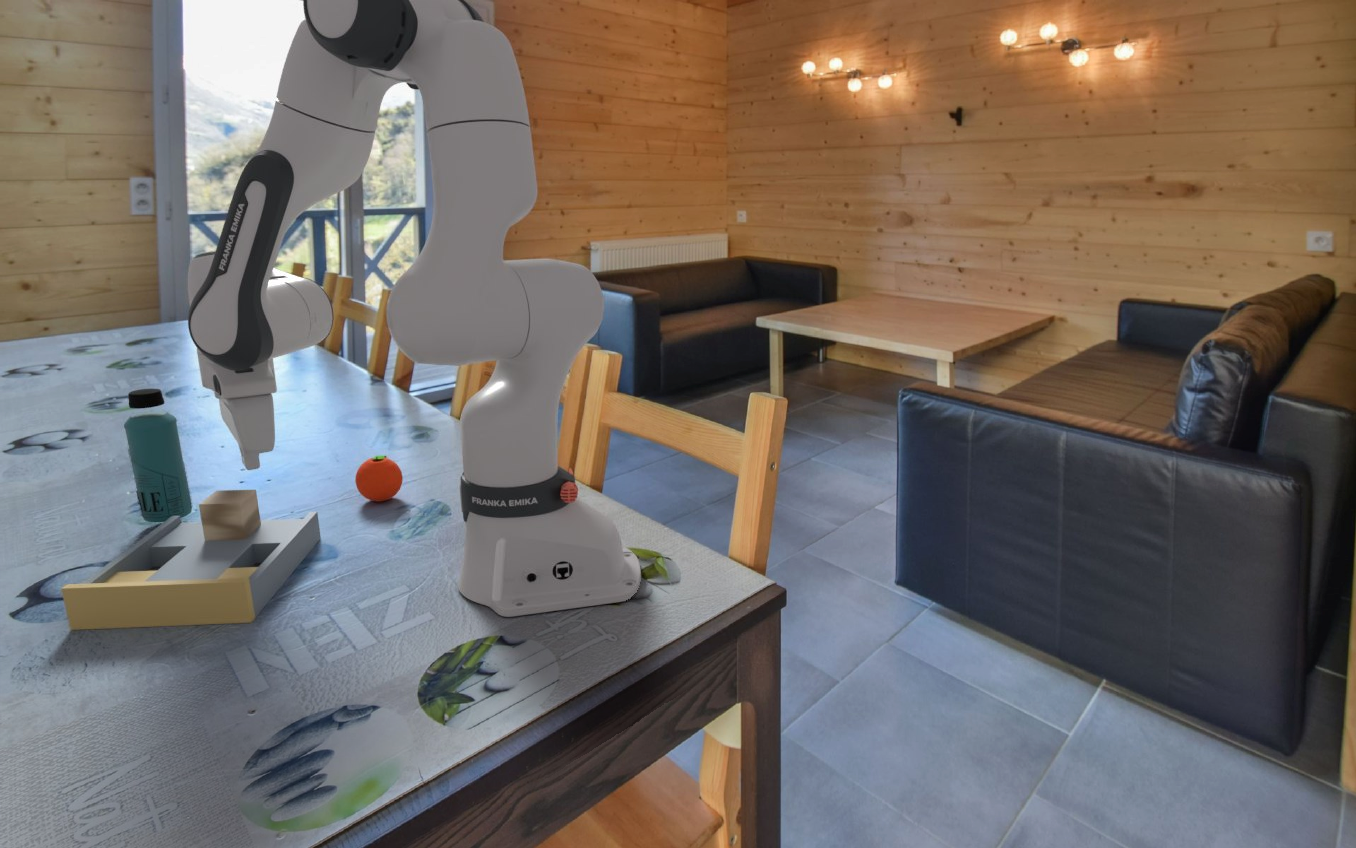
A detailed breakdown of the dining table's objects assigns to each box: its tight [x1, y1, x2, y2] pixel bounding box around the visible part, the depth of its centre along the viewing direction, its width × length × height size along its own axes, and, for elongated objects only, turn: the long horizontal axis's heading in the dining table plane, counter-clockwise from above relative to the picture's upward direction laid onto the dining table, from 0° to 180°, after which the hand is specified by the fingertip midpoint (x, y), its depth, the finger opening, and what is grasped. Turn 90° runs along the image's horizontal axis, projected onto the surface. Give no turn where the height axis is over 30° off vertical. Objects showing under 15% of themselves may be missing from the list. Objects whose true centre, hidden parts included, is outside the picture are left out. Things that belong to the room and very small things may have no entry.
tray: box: [61, 511, 322, 631], centre depth 99 cm, size 23×19×5 cm
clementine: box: [354, 455, 403, 502], centre depth 125 cm, size 8×7×7 cm
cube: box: [198, 489, 261, 541], centre depth 105 cm, size 5×5×5 cm
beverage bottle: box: [123, 388, 194, 523], centre depth 113 cm, size 6×7×20 cm
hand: (251, 466), depth 112 cm, fingers closed
